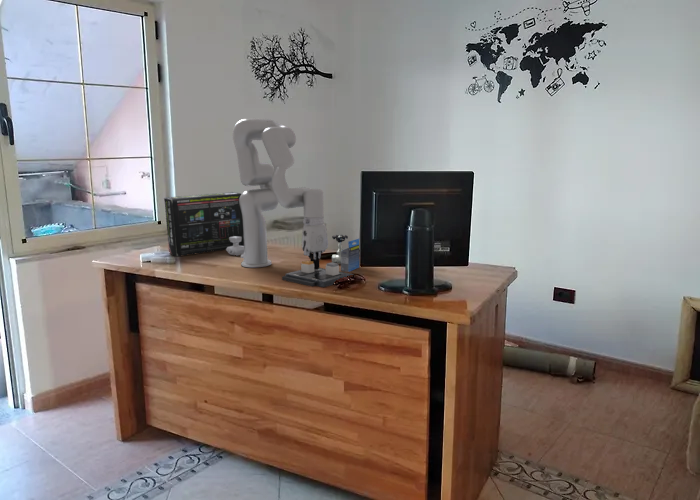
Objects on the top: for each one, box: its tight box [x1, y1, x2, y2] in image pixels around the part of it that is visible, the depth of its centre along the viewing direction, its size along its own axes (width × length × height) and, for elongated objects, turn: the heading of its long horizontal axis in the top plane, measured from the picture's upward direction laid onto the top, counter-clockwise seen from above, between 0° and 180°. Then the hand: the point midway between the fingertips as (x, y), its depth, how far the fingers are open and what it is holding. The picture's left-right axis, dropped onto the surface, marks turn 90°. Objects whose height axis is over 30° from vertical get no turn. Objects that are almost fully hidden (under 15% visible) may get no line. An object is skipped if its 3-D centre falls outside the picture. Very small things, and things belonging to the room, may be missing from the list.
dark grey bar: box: [281, 275, 315, 288], centre depth 205 cm, size 16×1×1 cm, turn 49°
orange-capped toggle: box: [300, 260, 314, 273], centre depth 212 cm, size 4×3×4 cm
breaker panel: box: [284, 268, 350, 288], centre depth 210 cm, size 20×14×2 cm
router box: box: [163, 191, 244, 257], centre depth 266 cm, size 36×11×27 cm, turn 127°
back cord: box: [319, 267, 355, 276], centre depth 217 cm, size 18×1×1 cm, turn 49°
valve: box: [331, 234, 349, 265], centre depth 234 cm, size 7×7×12 cm
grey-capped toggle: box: [325, 261, 340, 276], centre depth 208 cm, size 4×3×4 cm
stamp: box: [225, 236, 244, 257], centre depth 257 cm, size 9×7×8 cm
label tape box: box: [340, 238, 360, 273], centre depth 224 cm, size 9×4×12 cm, turn 149°
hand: (315, 268), depth 215 cm, fingers closed
